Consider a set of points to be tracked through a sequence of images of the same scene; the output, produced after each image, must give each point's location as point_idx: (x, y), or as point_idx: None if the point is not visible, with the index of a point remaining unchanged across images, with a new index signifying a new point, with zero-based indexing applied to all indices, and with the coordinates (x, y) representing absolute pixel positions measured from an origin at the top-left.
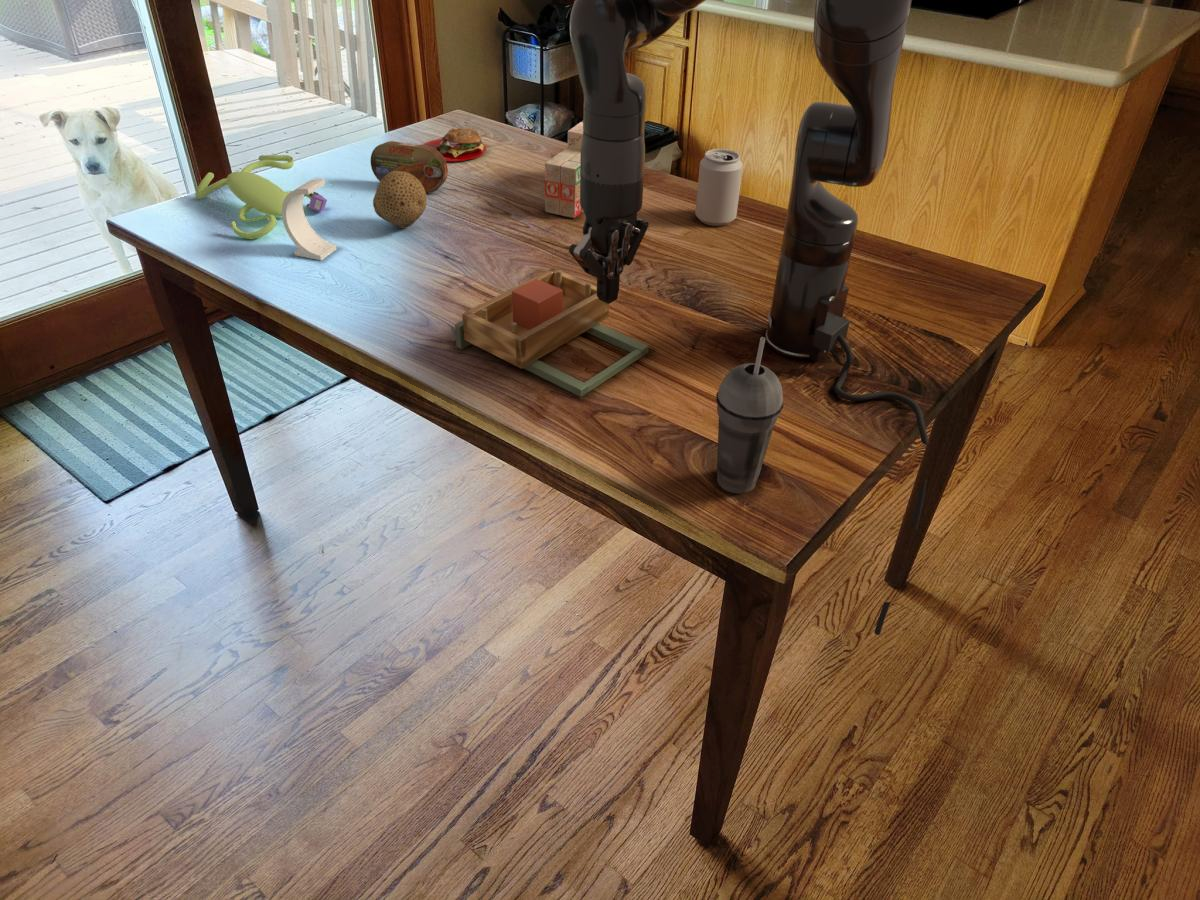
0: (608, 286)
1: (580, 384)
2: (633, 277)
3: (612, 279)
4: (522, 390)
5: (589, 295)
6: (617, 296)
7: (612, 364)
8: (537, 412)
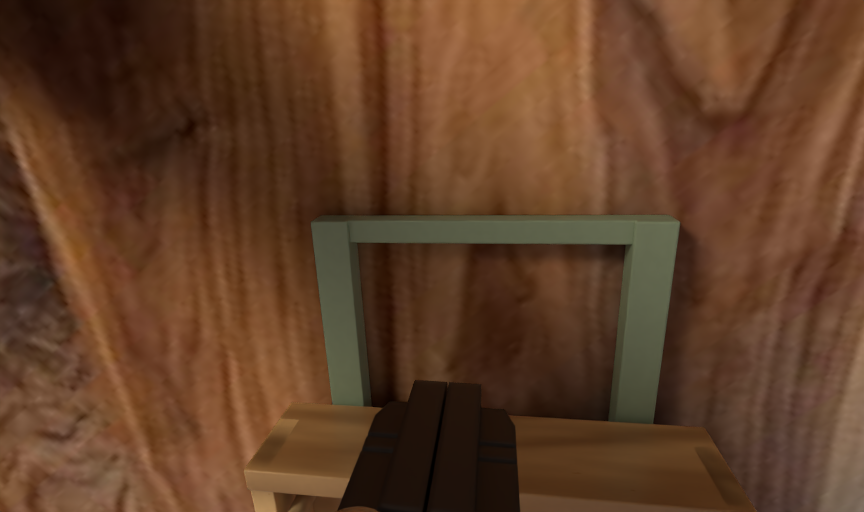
0: (477, 478)
1: (651, 243)
2: (86, 468)
3: (456, 508)
4: (744, 368)
5: (302, 501)
6: (413, 388)
7: (474, 242)
8: (829, 263)
